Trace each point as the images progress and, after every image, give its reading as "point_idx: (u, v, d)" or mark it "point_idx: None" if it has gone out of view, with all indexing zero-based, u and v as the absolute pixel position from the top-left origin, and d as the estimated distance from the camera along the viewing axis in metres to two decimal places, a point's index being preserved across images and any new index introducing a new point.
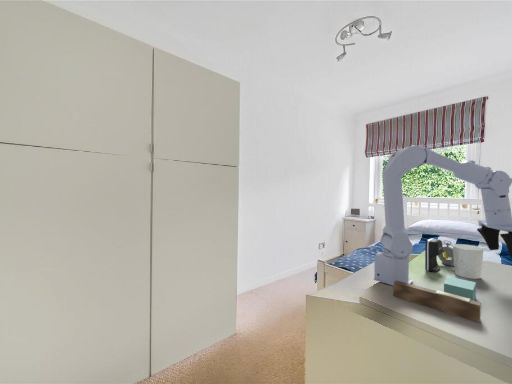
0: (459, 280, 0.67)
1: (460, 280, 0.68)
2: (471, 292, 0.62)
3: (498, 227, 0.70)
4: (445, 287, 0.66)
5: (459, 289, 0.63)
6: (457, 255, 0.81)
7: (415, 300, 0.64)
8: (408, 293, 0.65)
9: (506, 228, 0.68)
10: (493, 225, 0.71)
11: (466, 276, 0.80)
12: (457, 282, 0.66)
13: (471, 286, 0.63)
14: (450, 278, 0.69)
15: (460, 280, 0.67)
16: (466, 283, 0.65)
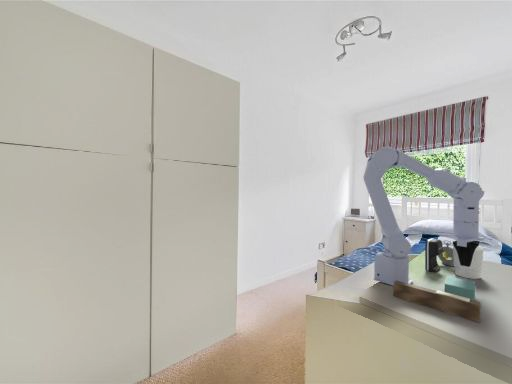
0: (458, 280, 0.68)
1: (460, 280, 0.68)
2: (472, 292, 0.61)
3: (454, 237, 0.71)
4: (446, 287, 0.65)
5: (460, 289, 0.63)
6: (457, 255, 0.82)
7: (415, 300, 0.64)
8: (408, 293, 0.65)
9: (456, 238, 0.70)
10: (453, 235, 0.72)
11: (466, 276, 0.80)
12: (457, 282, 0.66)
13: (471, 286, 0.63)
14: (450, 278, 0.69)
15: (460, 280, 0.67)
16: (466, 283, 0.66)
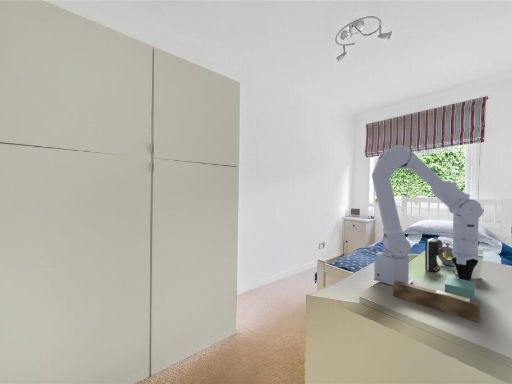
0: (458, 280, 0.68)
1: (459, 280, 0.68)
2: (472, 292, 0.61)
3: (453, 254, 0.71)
4: (446, 287, 0.65)
5: (461, 289, 0.63)
6: None
7: (415, 300, 0.64)
8: (408, 293, 0.65)
9: (455, 255, 0.70)
10: (453, 251, 0.72)
11: None
12: (457, 282, 0.66)
13: (471, 286, 0.63)
14: (449, 278, 0.69)
15: (460, 280, 0.67)
16: (466, 283, 0.66)
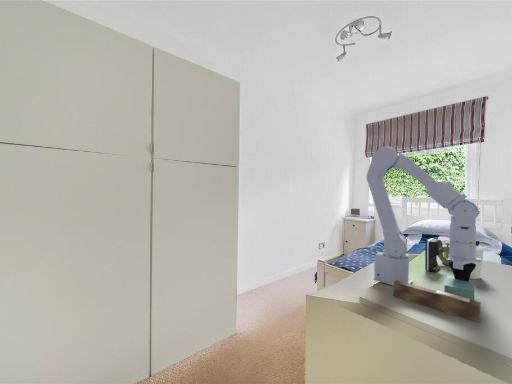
0: (457, 281, 0.66)
1: (459, 281, 0.66)
2: (472, 293, 0.60)
3: (450, 257, 0.68)
4: (446, 289, 0.64)
5: (460, 290, 0.62)
6: None
7: (415, 300, 0.64)
8: (408, 293, 0.65)
9: (452, 259, 0.66)
10: (449, 255, 0.69)
11: None
12: (457, 283, 0.65)
13: (471, 287, 0.62)
14: (448, 279, 0.68)
15: (459, 281, 0.66)
16: (465, 284, 0.64)
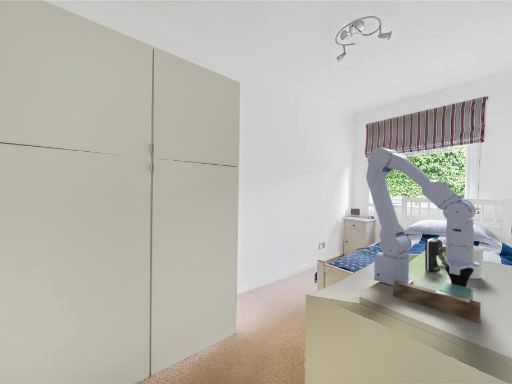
0: (454, 286, 0.63)
1: (456, 286, 0.63)
2: None
3: (446, 261, 0.64)
4: None
5: None
6: None
7: (415, 300, 0.64)
8: (408, 293, 0.65)
9: (448, 264, 0.62)
10: (446, 259, 0.65)
11: None
12: (453, 288, 0.62)
13: (467, 293, 0.59)
14: (445, 284, 0.65)
15: (456, 286, 0.63)
16: (462, 289, 0.61)
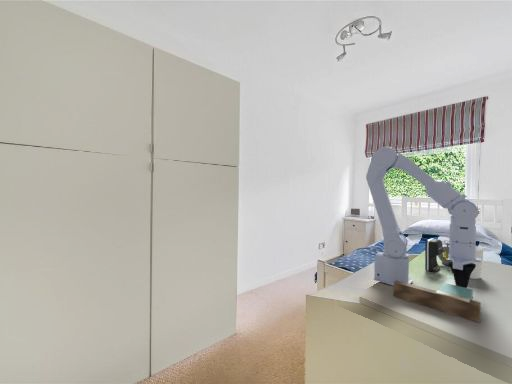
0: (454, 287, 0.63)
1: (456, 287, 0.63)
2: None
3: (450, 257, 0.68)
4: None
5: None
6: None
7: (415, 300, 0.64)
8: (408, 293, 0.65)
9: (451, 260, 0.66)
10: (449, 255, 0.69)
11: None
12: (452, 289, 0.62)
13: (467, 294, 0.59)
14: (445, 284, 0.65)
15: (456, 287, 0.63)
16: (462, 290, 0.61)
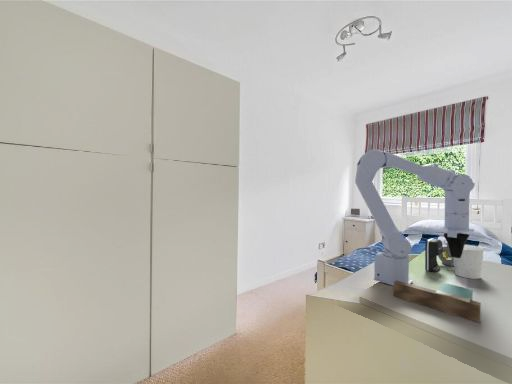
0: (454, 287, 0.63)
1: (456, 287, 0.63)
2: None
3: (445, 228, 0.72)
4: None
5: None
6: None
7: (415, 300, 0.64)
8: (408, 293, 0.65)
9: (446, 230, 0.70)
10: (444, 226, 0.73)
11: (466, 276, 0.80)
12: (452, 289, 0.62)
13: (467, 294, 0.59)
14: (445, 284, 0.65)
15: (456, 287, 0.63)
16: (462, 290, 0.61)
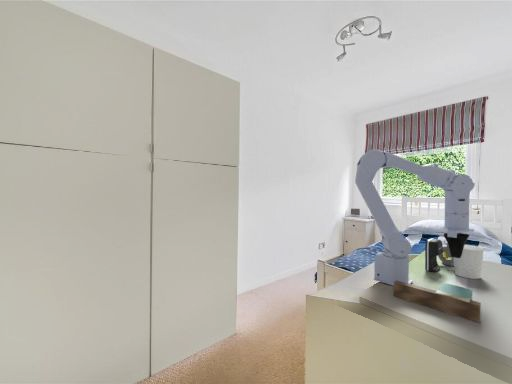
0: (454, 287, 0.63)
1: (456, 287, 0.63)
2: None
3: (445, 228, 0.72)
4: None
5: None
6: None
7: (415, 300, 0.64)
8: (408, 293, 0.65)
9: (446, 230, 0.70)
10: (444, 226, 0.73)
11: (466, 276, 0.80)
12: (452, 289, 0.62)
13: (467, 294, 0.59)
14: (445, 284, 0.65)
15: (456, 287, 0.63)
16: (462, 290, 0.61)
